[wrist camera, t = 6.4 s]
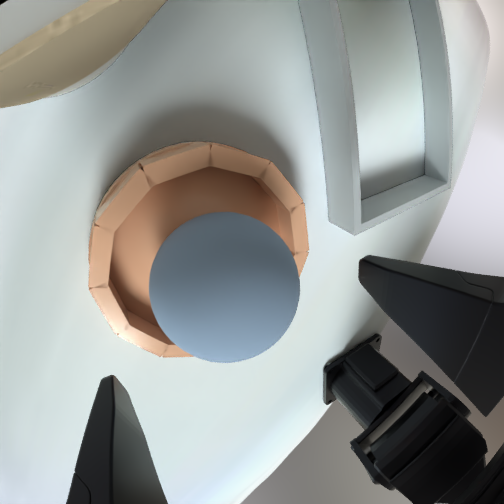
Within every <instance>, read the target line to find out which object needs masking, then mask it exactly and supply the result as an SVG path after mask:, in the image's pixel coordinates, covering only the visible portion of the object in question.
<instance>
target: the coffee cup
mask: <svg viewBox="0 0 504 504" xmlns="http://www.w3.org/2000/svg"><path fill="white" fill-rule="evenodd" d="M166 1H167V0H0V108H5V107H10V106H16V105H21V104H26V103H30V102H33V101H36V100H39V99H42V98H49V97H55V96H59V95H62V94H66V93H68V92H71V91H73V90H76V89H78V88H80V87H82V86H84V85H85V84H87V83H89V82H90V81H92V80H93V79H95V78H96V77H98V76H99V75H100V74H101V73H103V72H104V71H105V70H106V69H107V68H108V67H110V66H111V65H112V64H113V63H114V62H115V61H116V59H117V58H118V57H119V56H120V55H121V53H122V52H123V51H124V50H125V48H126V47H127V45H128V44H129V43H130V42H131V41H132V40H133V38H134V37H135V36H136V35H137V34H138V33H139V32H140V31H141V30H142V29H143V27H144V26H145V25H146V24H147V23H148V22H149V20H150V19H151V18H152V17H153V16H154V15H155V13H156V12H157V11H158V10H159V9H160V8H161V7H162V6H163V5H164V3H165V2H166Z"/></svg>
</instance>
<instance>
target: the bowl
mask: <svg viewBox="0 0 504 504" xmlns="http://www.w3.org/2000/svg"><path fill="white" fill-rule="evenodd" d="M214 212H234V213H239V214H243V215H247V216H250V217H253V218H255V219H257V220H259V221H261V222H263V223H264V224H266V225H267V226H269V227H270V228H271V229H272V230H274V231H275V232H276V233H277V234H278V235H279V236H280V237H281V238H282V240H283V241H284V242H285V243H286V245H287V246H288V248H289V250H290V251H291V253H292V255H293V257H294V260H295V262H296V265H297V269H298V274H299V277H300V274H301V272H302V269H303V267H304V264H305V261H306V259H307V256H308V253H309V252H308V250H309V243H308V233H307V223H306V214H305V205H304V203H303V200H302V198H301V197H300V196H299V195H298V193H297V192H296V191H295V190H294V188H293V187H292V186H291V185H290V183H289V182H288V181H287V180H286V178H285V177H284V176H283V175H282V173H281V172H280V171H279V170H278V168H277V167H276V166H275V165H274V164H273V162H271V161H270V160H268V159H264V158H261V157H258V156H255V155H251V154H249V153H247V152H245V151H243V150H240V149H237V148H234V147H231V146H228V145H224V144H219V143H214V142H201V141H194V142H184V143H178V144H174V145H170V146H166V147H164V148H161V149H159V150H156V151H154V152H151V153H150V154H148V155H146V156H144V157H143V158H141V159H139V160H138V161H136V162H135V163H134V164H132V165H131V166H130V167H129V168H127V169H126V170H125V171H124V172H123V173H122V174H121V175H120V176H119V177H118V178H117V179H116V180H115V181H114V182H113V184H112V185H111V186H110V188H109V189H108V191H107V192H106V194H105V195H104V197H103V199H102V201H101V203H100V204H99V206H98V208H97V211H96V214H95V217H94V220H93V223H92V227H91V233H90V239H89V285H88V287H89V291H90V292H91V294H92V296H93V298H94V299H95V301H96V303H97V305H98V306H99V308H100V310H101V312H102V313H103V315H104V317H105V318H106V320H107V322H108V323H109V325H110V326H111V328H112V330H113V331H114V333H115V334H117V336H118V337H120V338H122V339H124V340H126V341H128V342H130V343H132V344H134V345H136V346H138V347H140V348H142V349H144V350H147V351H149V352H151V353H153V354H155V355H157V356H159V357H161V356H162V357H195V356H193V355H191V354H189V353H187V352H185V351H184V350H182V349H181V348H179V347H178V346H177V345H176V344H174V343H173V342H172V341H171V340H170V339H169V338H168V337H167V335H166V334H165V333H164V332H163V330H162V329H161V327H160V326H159V324H158V322H157V320H156V318H155V315H154V313H153V310H152V306H151V302H150V297H149V277H150V271H151V267H152V264H153V261H154V259H155V256H156V254H157V252H158V250H159V248H160V246H161V245H162V244H163V242H164V241H165V240H166V238H167V237H168V236H169V235H170V234H171V233H172V232H173V231H174V230H175V229H177V228H178V227H179V226H180V225H182V224H184V223H185V222H187V221H189V220H191V219H193V218H195V217H197V216H201V215H204V214H208V213H214Z"/></svg>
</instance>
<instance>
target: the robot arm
mask: <svg viewBox="0 0 504 504" xmlns="http://www.w3.org/2000/svg"><path fill="white" fill-rule="evenodd" d="M358 278H359V281H360V283H361V285H362V286H363V287H364V288H365V289H366V290H367V292H368V293H369V294H370V295H371V296H372V298H373V299H374V300H375V301H376V302H377V304H378V305H379V306H380V307H381V308H382V309H383V311H384V312H385V313H386V314H387V315H388V316H389V317H390V318H391V319H392V320H393V321H394V322H395V323H396V324H397V325H398V326H399V327H400V328H401V329H402V330H403V331H404V332H406V334H407V335H408V336H409V337H410V338H411V339H412V340H413V341H414V342H416V344H417V345H418V346H420V348H421V349H422V350H423V351H424V352H425V353H426V354H427V355H428V356H429V357H430V358H431V359H432V360H433V361H434V362H435V363H436V364H437V365H438V366H439V367H440V368H441V369H442V371H443V372H444V373H445V374H446V375H447V376H448V377H449V378H450V379H451V380H452V381H453V382H454V384H456V386H457V387H458V388H459V389H460V390H461V391H462V392H463V393H464V394H465V395H466V397H467V398H468V399H469V400H470V401H471V402H472V403H473V404H474V405H475V406H476V408H477V409H478V410H479V411H480V412H481V413H482V414H483V415H484V416H485V417H487V416H488V414H489V413H490V412H491V411H492V410H493V409H494V407H495V406H496V405H497V404H498V403H499V401H500V400H501V399H502V398H503V396H504V277H498V276H490V275H481V274H474V273H467V272H462V271H455V270H452V269H446V268H440V267H435V266H429V265H423V264H418V263H413V262H407V261H401V260H396V259H390V258H384V257H378V256H372V255H367V256H365V257H364V258H362V259H360V261H359V275H358ZM381 338H382V337H381V335H379V334H375V335H374V336H373V337H371V338H370V339H368V340H367V341H365V342H364V343H362V344H361V345H359V346H358V347H356V348H355V349H353V350H352V351H350V352H349V353H347V354H346V355H344V356H343V357H341V358H340V359H338V360H336V361H335V362H333V363H332V364H330V365H328V366H327V367H326V368H325V369H324V403H325V404H326V405H328V404H330V403H332V402H333V401H335V400H336V399H337V400H338V401H339V402H340V403H341V404H342V405H343V407H345V409H346V410H347V411H348V412H349V413H350V414H351V415H352V417H354V419H355V420H356V421H357V422H358V423H359V424H360V425H361V426H362V428H363V429H364V430H365V431H364V432H363V433H361V434H360V435H359V436H358V437H357V438H355V439H353V440H352V441H351V442H350V444H351V445H352V446H351V449H352V450H353V451H354V452H355V453H356V455H357V456H358V458H359V459H360V461H361V462H362V463H363V465H364V467H365V468H366V470H367V472H368V474H369V476H370V478H371V480H372V482H373V483H374V484H381V485H383V486H384V487H385V488H387V489H389V490H394V489H397V490H398V491H399V492H401V493H402V494H403V495H404V496H405V497H407V498H408V499H409V500H410V501H411V502H412V503H413V504H504V443H503V445H502V446H501V447H500V449H499V450H498V451H497V453H496V454H495V455H494V457H493V458H492V459H491V461H490V462H489V463H488V464H487V466H486V462H485V454H486V453H487V452H488V451H487V445H486V441H485V439H484V438H483V436H482V434H481V433H480V432H479V431H478V430H477V429H476V428H475V427H474V426H473V425H472V424H471V423H470V422H469V421H468V420H467V418H468V417H469V416H470V415H471V412H470V410H469V409H468V408H467V407H466V406H465V405H464V404H463V403H462V402H461V401H460V400H459V399H458V398H456V397H455V396H454V395H453V394H452V393H450V392H449V391H448V390H447V389H445V388H444V387H443V386H441V385H440V384H439V383H437V382H436V381H435V380H434V379H432V378H431V377H430V376H429V375H427V374H426V373H424V372H423V371H421V372H420V373H419V374H418V377H417V378H416V379H415V380H414V381H413V382H411V381H410V380H409V379H407V378H406V377H405V376H404V375H403V374H402V373H401V372H400V371H399V370H398V368H396V367H395V366H394V365H393V364H392V363H391V362H390V361H388V360H387V359H386V358H385V357H384V356H383V355H382V354H381V353H380V352H379V349H380V344H381ZM427 389H429V392H428V394H427V393H425V391H426V390H427ZM66 504H168V503H167V500H166V497H165V495H164V492H163V489H162V487H161V484H160V481H159V478H158V476H157V473H156V470H155V467H154V464H153V461H152V458H151V454H150V451H149V448H148V445H147V441H146V438H145V435H144V433H143V430H142V428H141V425H140V423H139V420H138V418H137V415H136V413H135V410H134V407H133V405H132V402H131V399H130V397H129V394H128V392H127V390H126V389H125V388H124V386H123V385H122V384H121V383H120V382H119V380H118V379H117V378H116V377H115V376H114V375H110V376H107V377H105V378H103V379H102V380H101V382H100V385H99V388H98V391H97V394H96V397H95V400H94V403H93V406H92V409H91V413H90V416H89V419H88V423H87V426H86V429H85V433H84V436H83V440H82V444H81V447H80V451H79V455H78V459H77V463H76V467H75V473H74V474H73V479H72V483H71V487H70V491H69V495H68V499H67V502H66Z"/></svg>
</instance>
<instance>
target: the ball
mask: <svg viewBox="0 0 504 504" xmlns="http://www.w3.org/2000/svg"><path fill="white" fill-rule="evenodd" d="M299 295H300V279H299V274H298V269H297V265H296V262H295V260H294V257H293V255H292V253H291V251H290V250H289V248H288V246H287V245H286V243H285V242H284V241H283V240H282V238H281V237H280V236H279V235H278V234H277V233H276V232H275V231H274V230H272V229H271V228H270V227H269V226H267V225H266V224H264V223H263V222H261V221H259V220H257V219H255V218H253V217H250V216H247V215H243V214H239V213H234V212H214V213H208V214H204V215H201V216H197V217H195V218H193V219H191V220H189V221H187V222H185V223H184V224H182V225H180V226H179V227H178V228H177V229H175V230H174V231H173V232H172V233H171V234H170V235H169V236H168V237H167V238H166V240H165V241H164V242H163V244H162V245H161V246H160V248H159V250H158V252H157V254H156V256H155V259H154V261H153V264H152V267H151V271H150V277H149V297H150V302H151V306H152V310H153V313H154V315H155V318H156V320H157V322H158V324H159V326H160V327H161V329H162V330H163V332H164V333H165V334H166V335H167V337H168V338H169V339H170V340H171V341H172V342H173V343H174V344H176V345H177V346H178V347H179V348H181V349H182V350H184V351H185V352H187V353H189V354H191V355H193V356H195V357H197V358H200V359H203V360H207V361H211V362H220V363H231V362H238V361H242V360H246V359H249V358H252V357H255V356H257V355H259V354H261V353H263V352H264V351H266V350H267V349H269V348H270V347H271V346H273V345H274V344H275V343H276V342H277V341H278V340H279V339H280V338H281V337H282V336H283V335H284V333H285V332H286V330H287V329H288V327H289V325H290V324H291V322H292V320H293V318H294V316H295V313H296V310H297V306H298V301H299Z"/></svg>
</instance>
